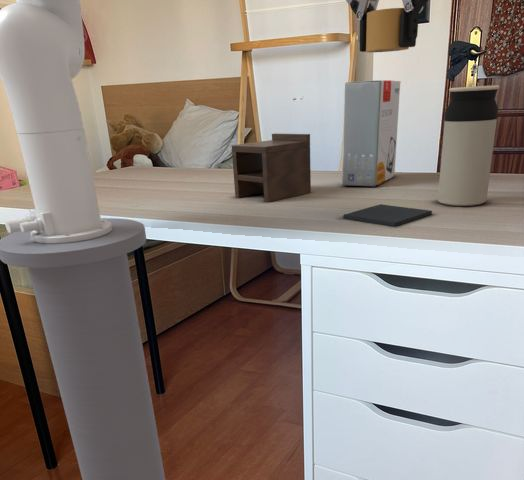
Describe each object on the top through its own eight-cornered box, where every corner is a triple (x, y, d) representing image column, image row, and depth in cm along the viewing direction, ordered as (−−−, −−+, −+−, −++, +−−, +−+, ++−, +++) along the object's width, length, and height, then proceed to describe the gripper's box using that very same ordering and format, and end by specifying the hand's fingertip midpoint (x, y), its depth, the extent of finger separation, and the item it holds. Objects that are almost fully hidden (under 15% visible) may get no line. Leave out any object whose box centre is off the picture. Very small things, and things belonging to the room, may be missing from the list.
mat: (395, 226, 78) (395, 222, 78) (343, 218, 85) (343, 214, 85) (431, 214, 84) (432, 210, 84) (380, 207, 91) (380, 204, 91)
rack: (268, 202, 101) (265, 139, 96) (235, 197, 108) (230, 138, 103) (310, 192, 108) (310, 133, 103) (277, 188, 115) (275, 133, 110)
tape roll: (392, 48, 72) (394, 6, 70) (357, 52, 76) (358, 12, 74) (417, 49, 76) (419, 8, 73) (382, 52, 80) (383, 14, 77)
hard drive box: (376, 187, 109) (380, 80, 101) (341, 186, 113) (342, 82, 104) (395, 176, 121) (401, 79, 113) (363, 175, 125) (366, 81, 116)
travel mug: (480, 208, 86) (495, 85, 79) (431, 205, 90) (441, 88, 83) (490, 199, 92) (505, 84, 85) (444, 197, 96) (454, 87, 89)
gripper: (323, -97, 71) (324, 54, 79) (438, -141, 60) (425, 42, 68) (358, -88, 76) (355, 54, 84) (471, -127, 64) (455, 43, 72)
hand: (387, 47), depth 76 cm, fingers closed on tape roll, 6 cm apart
